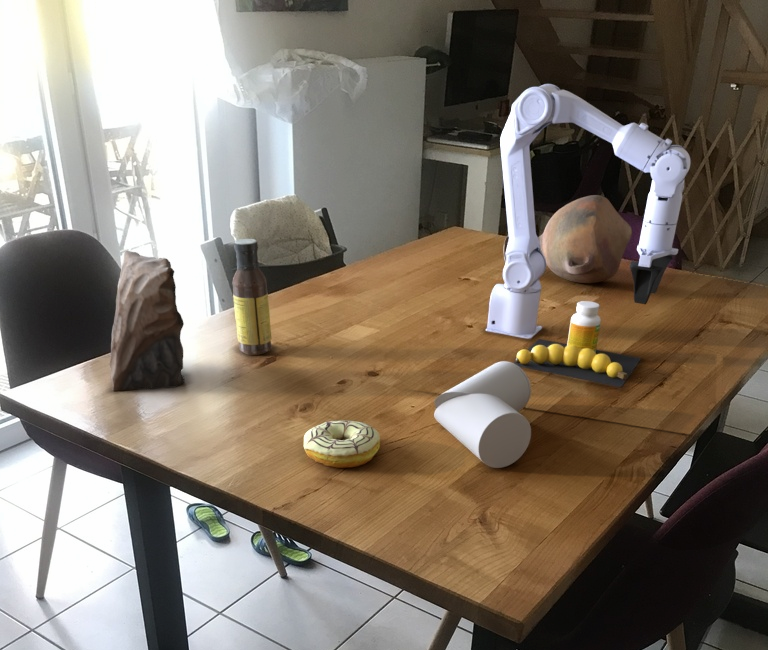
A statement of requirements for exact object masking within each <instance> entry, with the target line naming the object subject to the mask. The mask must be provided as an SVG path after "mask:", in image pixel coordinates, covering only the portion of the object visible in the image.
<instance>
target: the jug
mask: <svg viewBox="0 0 768 650" xmlns="http://www.w3.org/2000/svg"><path fill="white" fill-rule="evenodd" d="M632 231H633V230H632V227H631V225H630V224H629V223H628V222H627V221H626V220H625V219H624V218H623V217H622V216H621V214H620V213H619V212H618V211H617V210H616V208H615V207H614V205H613V204H612V203H611V202H610V200H609V199H608V198H607V197H606V196H602V195H599V194H593V195H587V196H583V197H580V198H577V199H575V200H572V201H570V202H568V203H567V204H565V205H564V206H562V207H561V208H559V209H558V210H557V211H556V212H554V214H552V216H551V217H550V219H549V220H548V222H547V223H546V225H545V227H544V230H543V232H542V234H540V235H539V236H537V237H538V239H539V241H540V248H541V251H542V253H543V255H544V256H545V259H546V267H548V269H549V270H550V271H551V272H552V273H553V274H555V276H557V277H559V278H561V279H564V280H567V281H569V282H573V283H577V284H578V283H579V284H596V283H600V282H601V283H602V282H604V281H607V280H609V279H612V278H613V277H615V275H616V274H617V273H618V271H619V268H620V265H621V262H622V259H623V256H624V253H625V251H626V249H627V246H628V244H629V242H630V241H631V238H632V233H633V232H632ZM508 242H509V234H507V235H506V237H505V239H504V243H503V248H502V249H503V259H504V262H505V263H506V249H507V245H508Z"/></svg>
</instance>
